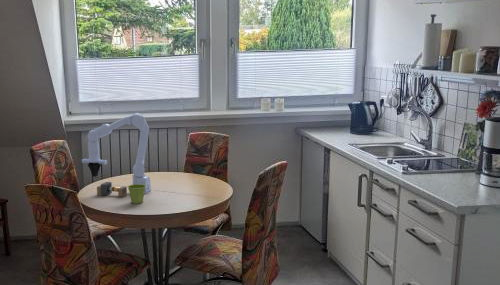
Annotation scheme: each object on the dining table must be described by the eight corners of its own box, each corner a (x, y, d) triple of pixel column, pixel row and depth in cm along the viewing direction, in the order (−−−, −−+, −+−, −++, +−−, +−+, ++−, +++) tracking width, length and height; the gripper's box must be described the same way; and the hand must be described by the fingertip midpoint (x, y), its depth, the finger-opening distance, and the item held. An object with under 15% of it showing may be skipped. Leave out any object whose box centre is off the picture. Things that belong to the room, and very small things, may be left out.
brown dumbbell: (126, 194, 290) (126, 186, 289) (122, 197, 285) (122, 188, 284) (102, 192, 294) (101, 184, 293) (97, 195, 289) (96, 186, 289)
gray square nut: (111, 192, 293) (111, 182, 292) (106, 195, 287) (105, 184, 286) (107, 192, 294) (106, 181, 293) (101, 195, 288) (100, 184, 287)
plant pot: (130, 199, 281) (130, 183, 279) (148, 199, 280) (147, 184, 279) (125, 204, 271) (125, 188, 270) (144, 205, 271) (143, 188, 270)
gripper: (109, 151, 290) (110, 175, 293) (86, 150, 294) (87, 173, 296) (102, 153, 283) (103, 178, 286) (79, 152, 287) (80, 176, 290)
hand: (95, 176), depth 291 cm, fingers closed
